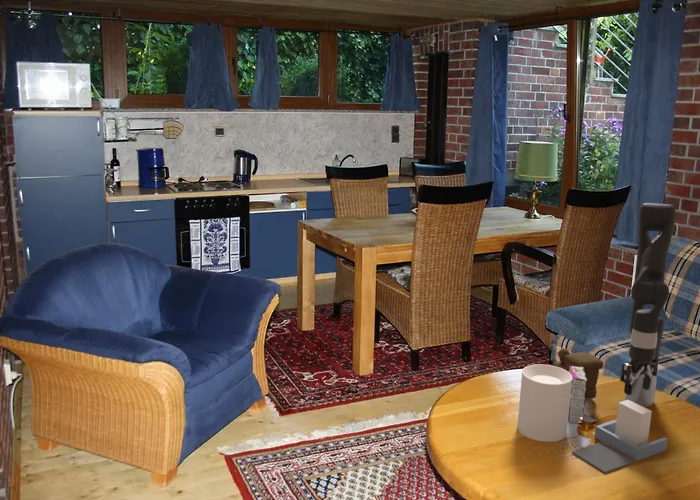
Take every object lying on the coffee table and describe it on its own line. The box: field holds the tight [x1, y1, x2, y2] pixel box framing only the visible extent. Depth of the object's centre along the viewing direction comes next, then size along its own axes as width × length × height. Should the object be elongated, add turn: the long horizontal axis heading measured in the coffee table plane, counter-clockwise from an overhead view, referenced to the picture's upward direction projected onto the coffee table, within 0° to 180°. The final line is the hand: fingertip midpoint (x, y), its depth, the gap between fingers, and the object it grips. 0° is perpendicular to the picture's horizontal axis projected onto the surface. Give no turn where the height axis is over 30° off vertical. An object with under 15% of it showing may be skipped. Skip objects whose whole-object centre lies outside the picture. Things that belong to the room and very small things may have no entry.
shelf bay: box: [594, 419, 669, 462], centre depth 221 cm, size 14×16×4 cm
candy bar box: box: [568, 366, 587, 424], centre depth 237 cm, size 11×5×16 cm, turn 168°
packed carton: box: [614, 399, 653, 447], centre depth 220 cm, size 4×9×13 cm, turn 29°
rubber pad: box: [571, 441, 636, 474], centre depth 213 cm, size 13×13×1 cm
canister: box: [517, 363, 572, 443], centre depth 227 cm, size 16×16×20 cm
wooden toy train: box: [552, 347, 604, 400], centre depth 254 cm, size 20×11×17 cm, turn 22°
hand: (636, 391), depth 217 cm, fingers open, 8 cm apart
